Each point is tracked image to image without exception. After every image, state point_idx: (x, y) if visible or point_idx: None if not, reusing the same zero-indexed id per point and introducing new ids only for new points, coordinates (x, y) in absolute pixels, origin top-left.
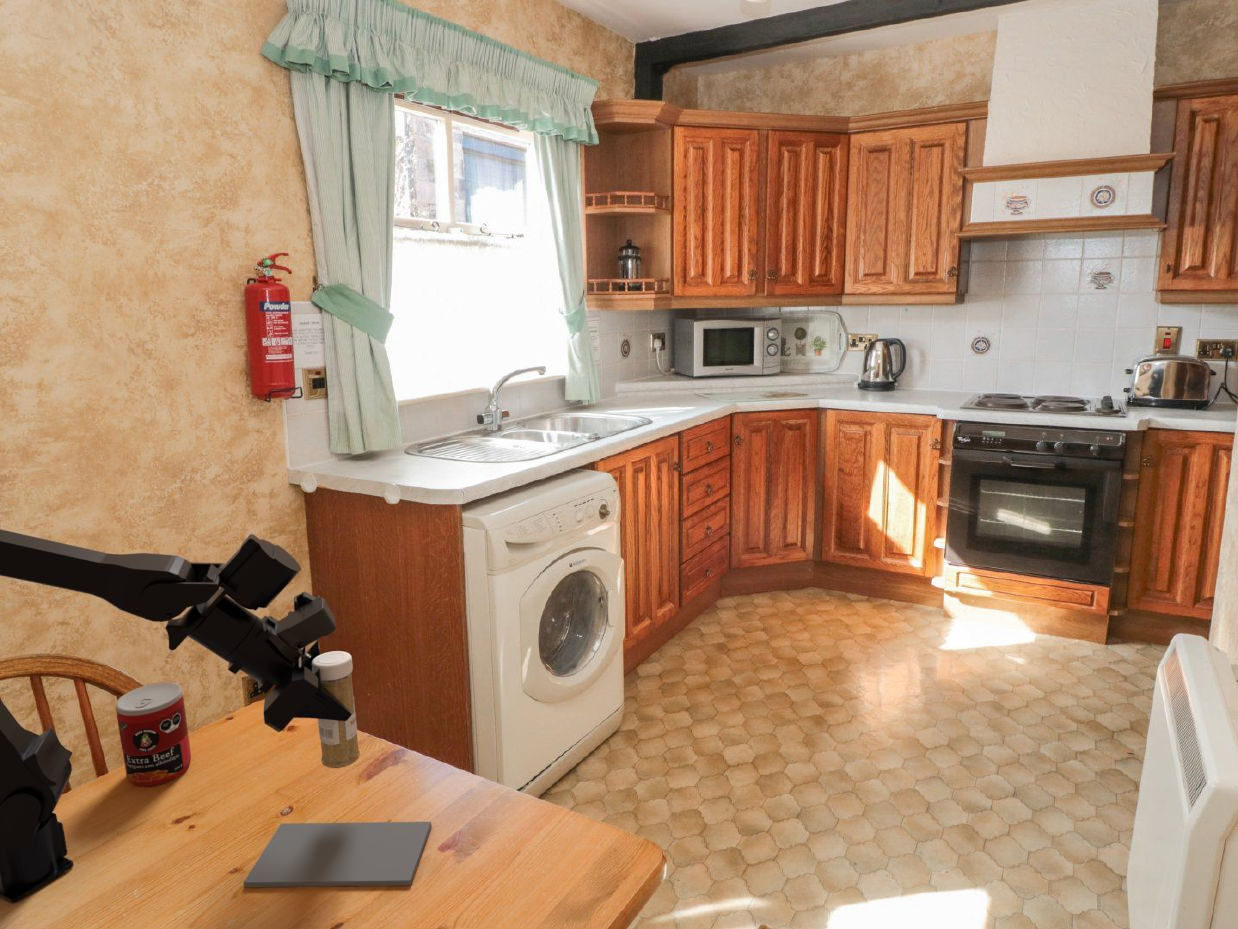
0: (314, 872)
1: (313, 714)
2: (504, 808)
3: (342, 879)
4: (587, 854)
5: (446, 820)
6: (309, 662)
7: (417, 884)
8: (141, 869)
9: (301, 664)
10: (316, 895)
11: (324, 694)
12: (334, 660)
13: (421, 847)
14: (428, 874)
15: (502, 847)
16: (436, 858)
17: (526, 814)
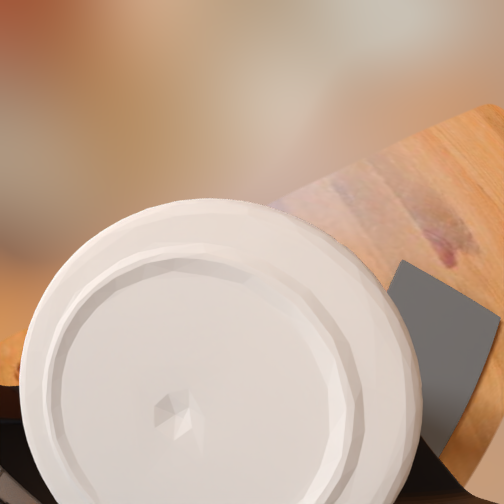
0: (431, 441)
1: None
2: (397, 166)
3: (463, 404)
4: (491, 137)
5: (394, 238)
6: (33, 477)
7: (497, 310)
8: None
9: (28, 501)
10: (459, 437)
11: (448, 477)
12: (278, 409)
13: (452, 288)
14: (487, 293)
15: (468, 197)
16: (465, 275)
17: (418, 151)
